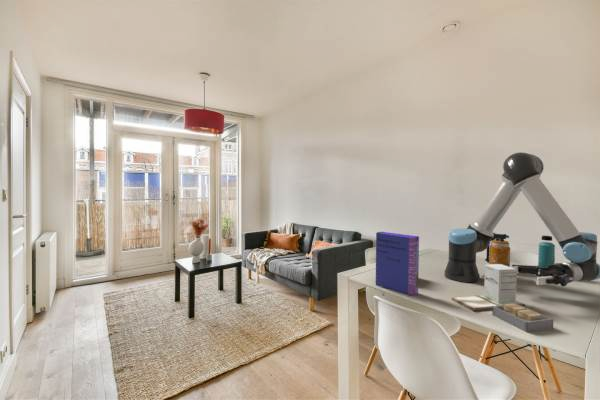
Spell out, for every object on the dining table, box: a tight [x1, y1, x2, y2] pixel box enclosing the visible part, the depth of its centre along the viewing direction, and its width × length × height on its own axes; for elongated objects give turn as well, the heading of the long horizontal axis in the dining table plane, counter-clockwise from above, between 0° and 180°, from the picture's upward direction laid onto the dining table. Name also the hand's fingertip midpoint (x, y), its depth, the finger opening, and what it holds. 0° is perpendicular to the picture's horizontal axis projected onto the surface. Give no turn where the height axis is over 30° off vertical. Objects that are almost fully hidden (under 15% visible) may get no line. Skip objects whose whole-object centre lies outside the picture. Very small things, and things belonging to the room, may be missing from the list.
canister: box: [484, 232, 511, 267], centre depth 153 cm, size 9×11×20 cm
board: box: [451, 294, 526, 313], centre depth 108 cm, size 11×22×2 cm, turn 102°
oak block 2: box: [518, 309, 541, 321], centre depth 91 cm, size 4×4×4 cm
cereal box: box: [375, 231, 420, 297], centre depth 124 cm, size 17×5×24 cm, turn 42°
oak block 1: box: [504, 304, 526, 317], centre depth 95 cm, size 4×4×4 cm
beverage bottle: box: [537, 235, 556, 273], centre depth 144 cm, size 6×7×20 cm
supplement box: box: [483, 263, 518, 303], centre depth 109 cm, size 7×7×13 cm
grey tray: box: [491, 304, 554, 333], centre depth 93 cm, size 12×10×4 cm
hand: (519, 275), depth 111 cm, fingers open, 13 cm apart
